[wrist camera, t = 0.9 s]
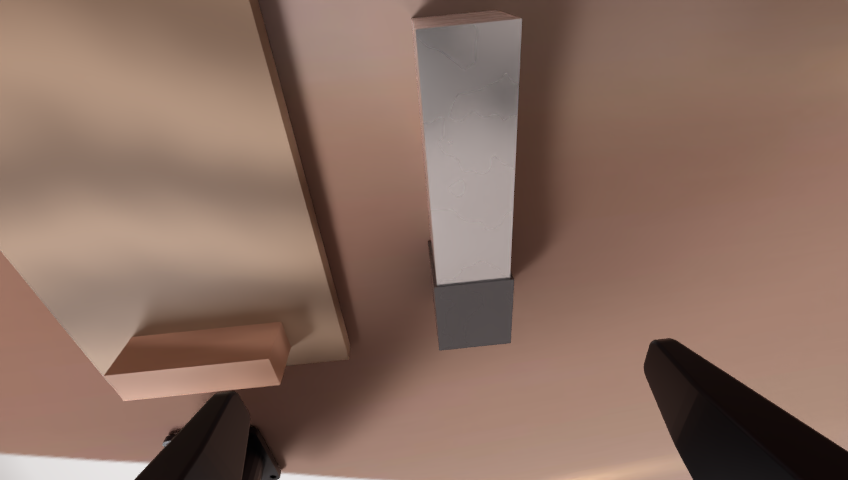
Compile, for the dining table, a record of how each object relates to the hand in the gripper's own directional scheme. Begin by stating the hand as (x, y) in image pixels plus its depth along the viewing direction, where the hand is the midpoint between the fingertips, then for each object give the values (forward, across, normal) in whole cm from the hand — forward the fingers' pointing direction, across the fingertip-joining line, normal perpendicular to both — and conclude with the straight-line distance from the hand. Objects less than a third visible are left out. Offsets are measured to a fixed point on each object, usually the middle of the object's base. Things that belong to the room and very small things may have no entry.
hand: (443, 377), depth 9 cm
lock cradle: (+11, +12, -1) cm, 17 cm away
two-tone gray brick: (+11, -2, +1) cm, 12 cm away
